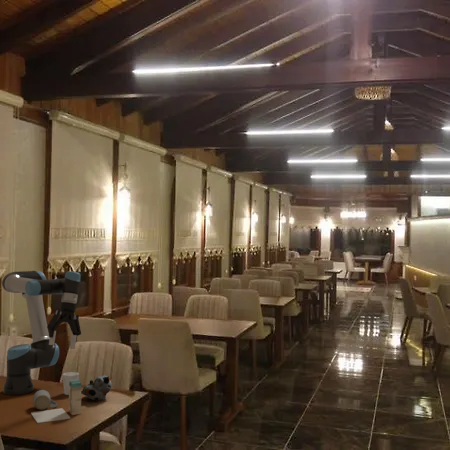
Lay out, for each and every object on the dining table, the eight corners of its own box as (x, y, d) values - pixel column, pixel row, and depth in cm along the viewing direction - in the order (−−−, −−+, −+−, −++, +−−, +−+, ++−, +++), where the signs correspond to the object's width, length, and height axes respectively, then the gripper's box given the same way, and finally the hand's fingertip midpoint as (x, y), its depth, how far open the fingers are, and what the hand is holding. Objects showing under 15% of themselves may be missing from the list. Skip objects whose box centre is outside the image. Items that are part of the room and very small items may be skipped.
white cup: (82, 392, 294) (82, 373, 294) (70, 396, 287) (70, 376, 288) (71, 390, 298) (71, 371, 299) (59, 394, 292) (59, 374, 292)
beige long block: (69, 411, 263) (69, 380, 263) (77, 410, 265) (77, 379, 265) (72, 414, 257) (72, 383, 258) (81, 413, 259) (81, 382, 260)
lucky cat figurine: (87, 394, 291) (101, 369, 294) (106, 405, 287) (120, 380, 290) (75, 393, 277) (89, 366, 280) (95, 405, 273) (109, 378, 276)
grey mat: (30, 413, 259) (30, 412, 259) (62, 409, 266) (62, 408, 266) (37, 423, 245) (37, 422, 245) (70, 418, 252) (70, 417, 252)
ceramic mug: (34, 411, 262) (34, 394, 262) (33, 406, 270) (33, 390, 270) (58, 409, 266) (58, 392, 266) (56, 404, 274) (56, 388, 274)
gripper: (55, 297, 268) (47, 343, 262) (92, 307, 289) (85, 350, 282) (44, 298, 272) (36, 343, 265) (81, 308, 292) (74, 350, 285)
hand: (61, 346), depth 274 cm, fingers open, 13 cm apart
